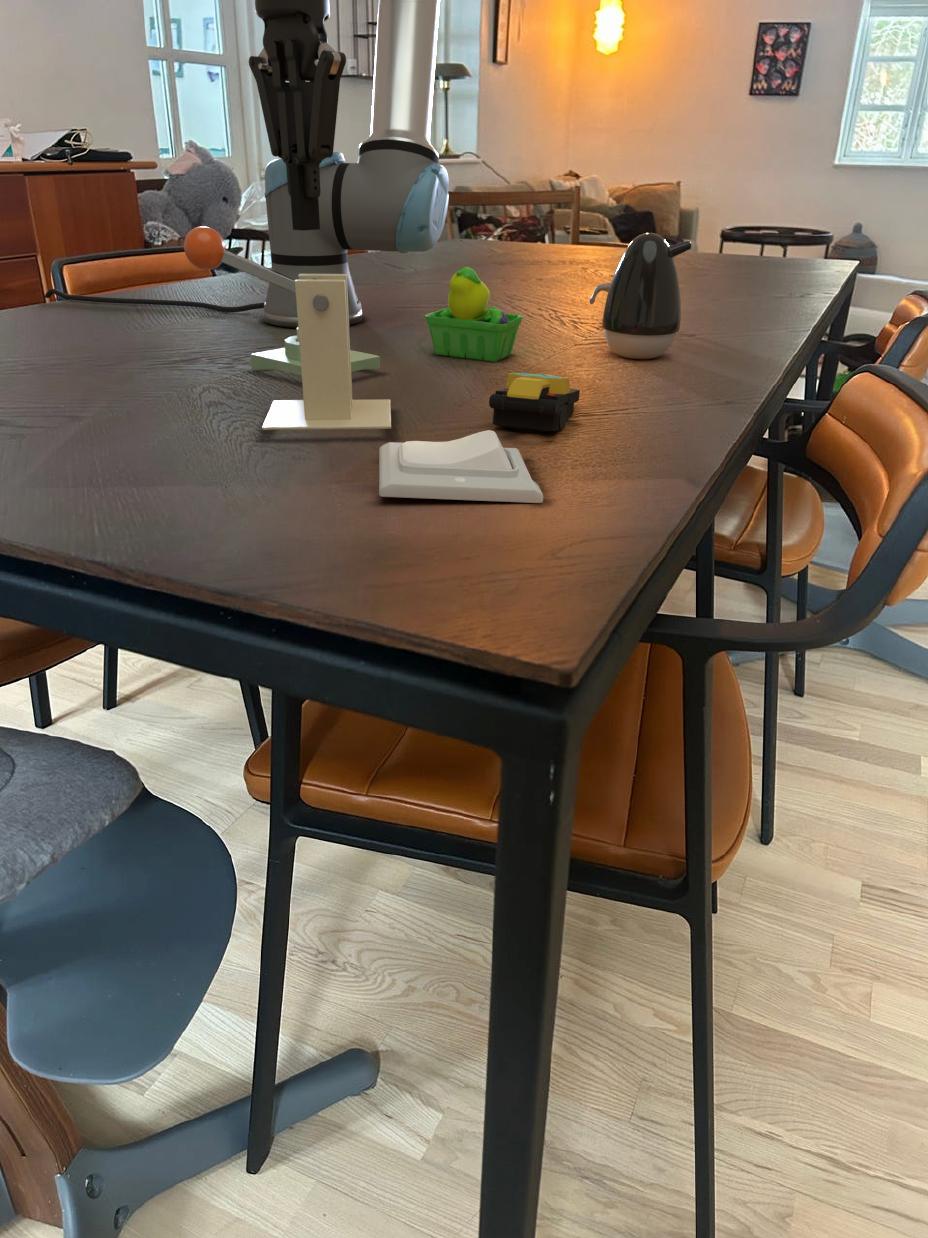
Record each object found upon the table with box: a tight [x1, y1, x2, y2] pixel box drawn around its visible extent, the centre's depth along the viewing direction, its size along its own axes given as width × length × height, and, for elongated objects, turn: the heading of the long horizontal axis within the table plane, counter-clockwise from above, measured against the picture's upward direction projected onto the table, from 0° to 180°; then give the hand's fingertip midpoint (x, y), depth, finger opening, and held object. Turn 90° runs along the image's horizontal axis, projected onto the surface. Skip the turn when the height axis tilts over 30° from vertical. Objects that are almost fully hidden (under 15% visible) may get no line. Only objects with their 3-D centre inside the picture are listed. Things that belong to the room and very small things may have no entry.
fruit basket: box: [424, 266, 524, 363], centre depth 114 cm, size 11×9×11 cm
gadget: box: [488, 372, 581, 434], centre depth 85 cm, size 6×13×6 cm, turn 161°
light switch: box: [378, 429, 544, 504], centre depth 72 cm, size 11×4×13 cm
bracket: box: [261, 274, 392, 431], centre depth 84 cm, size 12×10×14 cm
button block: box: [250, 335, 381, 377], centre depth 106 cm, size 12×10×4 cm
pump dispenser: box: [601, 232, 693, 360], centre depth 115 cm, size 10×10×15 cm
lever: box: [183, 225, 318, 293], centre depth 80 cm, size 14×4×4 cm, turn 95°
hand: (306, 229), depth 99 cm, fingers closed
